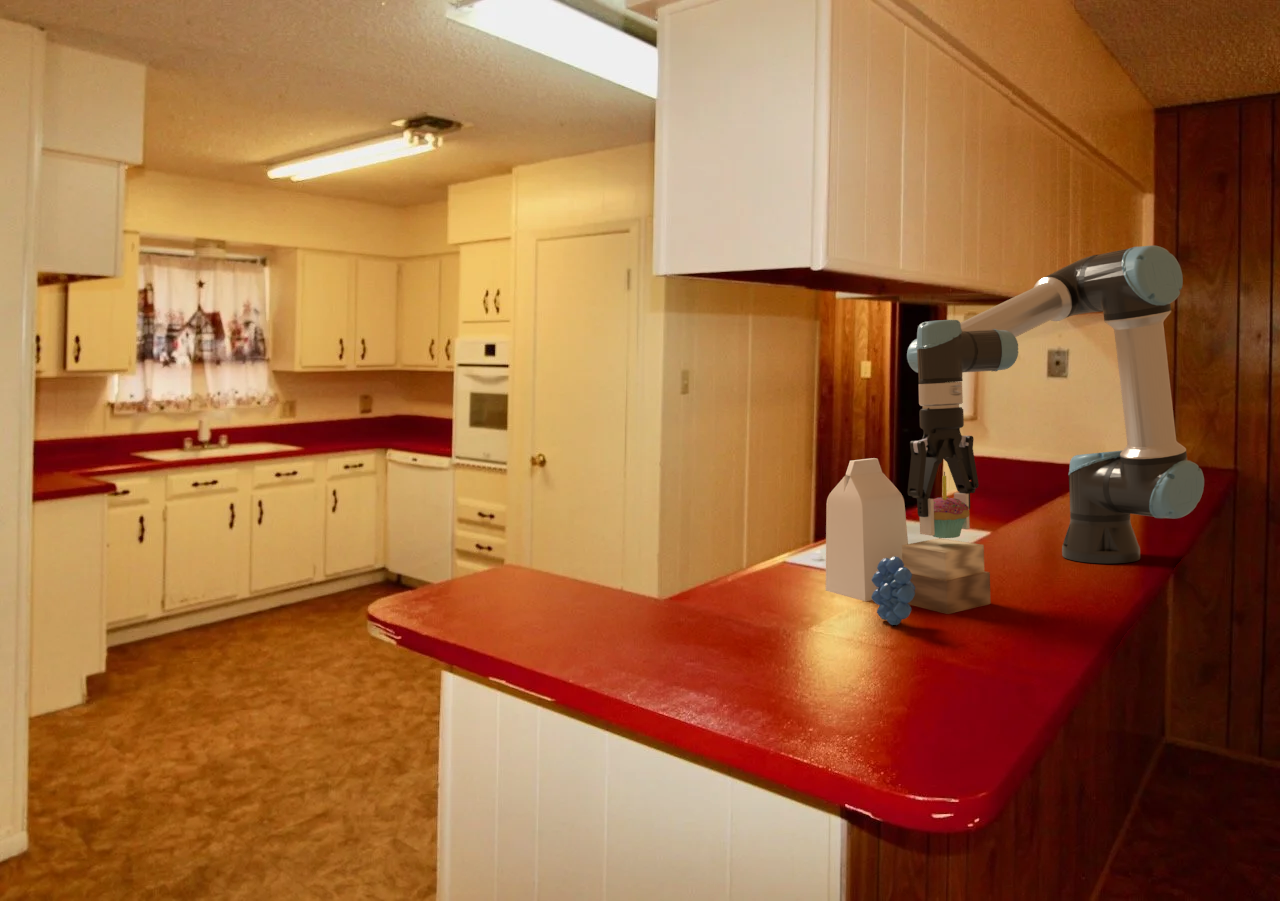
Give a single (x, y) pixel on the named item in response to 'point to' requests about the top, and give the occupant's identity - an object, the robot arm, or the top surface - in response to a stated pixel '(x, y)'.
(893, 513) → the milk
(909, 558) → the block top
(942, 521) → the cupcake
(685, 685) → the top surface
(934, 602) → the block bottom
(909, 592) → the grapes
